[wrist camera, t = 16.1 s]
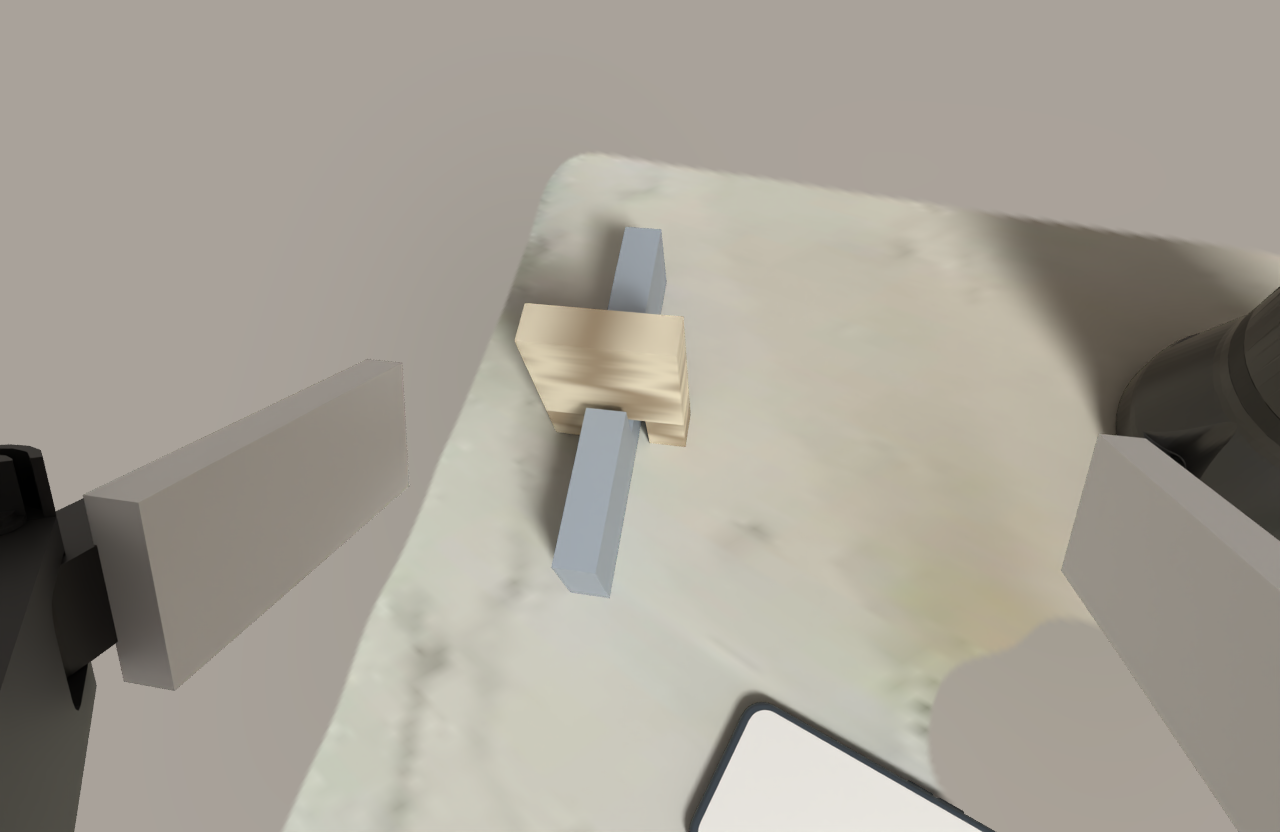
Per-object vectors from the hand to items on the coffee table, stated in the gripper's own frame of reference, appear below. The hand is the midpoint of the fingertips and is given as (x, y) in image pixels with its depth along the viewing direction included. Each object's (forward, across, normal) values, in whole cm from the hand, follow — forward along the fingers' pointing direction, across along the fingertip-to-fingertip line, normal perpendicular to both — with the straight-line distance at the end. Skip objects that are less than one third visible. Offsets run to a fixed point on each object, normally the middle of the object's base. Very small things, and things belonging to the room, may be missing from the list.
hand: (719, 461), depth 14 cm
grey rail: (+34, -8, -12) cm, 37 cm away
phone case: (+18, +8, -29) cm, 35 cm away
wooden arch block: (+34, -8, -12) cm, 37 cm away
